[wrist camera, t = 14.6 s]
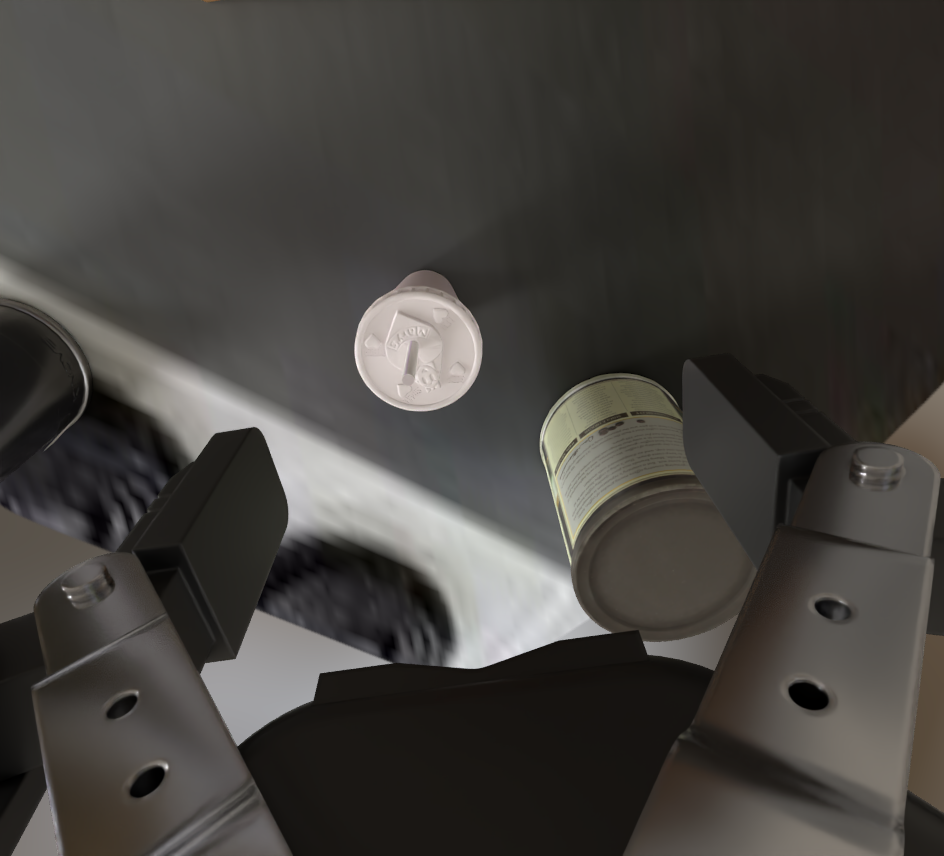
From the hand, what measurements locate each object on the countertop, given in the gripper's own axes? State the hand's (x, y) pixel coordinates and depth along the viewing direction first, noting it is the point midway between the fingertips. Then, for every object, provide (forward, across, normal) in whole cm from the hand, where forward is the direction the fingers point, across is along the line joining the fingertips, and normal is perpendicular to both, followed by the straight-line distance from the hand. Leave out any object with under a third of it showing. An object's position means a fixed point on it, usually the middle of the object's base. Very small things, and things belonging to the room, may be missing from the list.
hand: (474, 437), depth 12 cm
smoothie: (+28, +3, +5) cm, 29 cm away
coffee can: (+28, -8, +17) cm, 34 cm away
